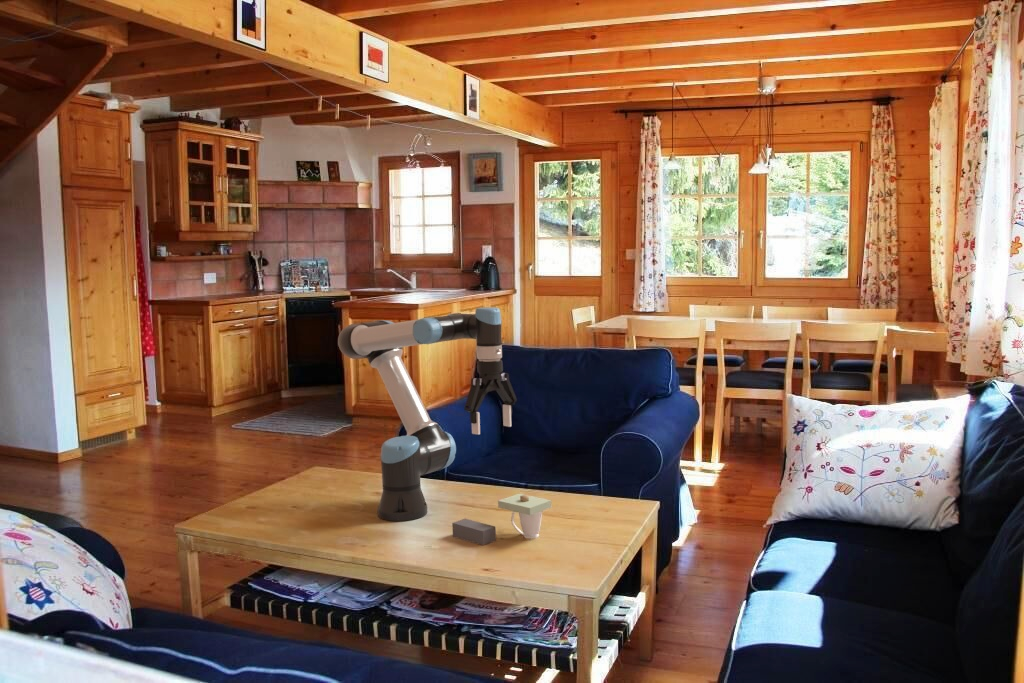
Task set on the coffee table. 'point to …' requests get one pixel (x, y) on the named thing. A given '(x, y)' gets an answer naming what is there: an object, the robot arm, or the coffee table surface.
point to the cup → (529, 524)
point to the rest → (474, 531)
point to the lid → (524, 504)
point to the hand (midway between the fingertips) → (492, 430)
